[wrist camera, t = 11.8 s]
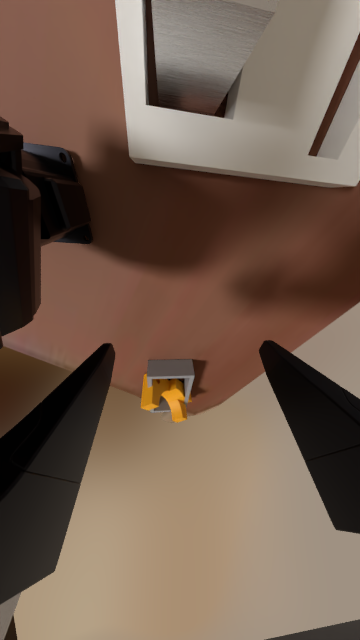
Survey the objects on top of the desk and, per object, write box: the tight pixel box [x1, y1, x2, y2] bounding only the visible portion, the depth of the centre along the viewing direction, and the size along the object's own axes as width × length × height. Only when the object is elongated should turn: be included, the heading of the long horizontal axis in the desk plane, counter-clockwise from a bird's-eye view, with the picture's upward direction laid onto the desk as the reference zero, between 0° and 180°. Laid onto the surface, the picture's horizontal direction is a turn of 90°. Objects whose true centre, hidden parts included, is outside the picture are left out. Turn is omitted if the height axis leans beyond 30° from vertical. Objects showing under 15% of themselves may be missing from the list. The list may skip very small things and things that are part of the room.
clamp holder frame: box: [147, 359, 195, 413], centre depth 33 cm, size 9×17×4 cm, turn 175°
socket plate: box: [115, 0, 360, 188], centre depth 9 cm, size 18×10×2 cm, turn 85°
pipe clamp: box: [141, 374, 192, 422], centre depth 32 cm, size 12×4×6 cm, turn 33°
